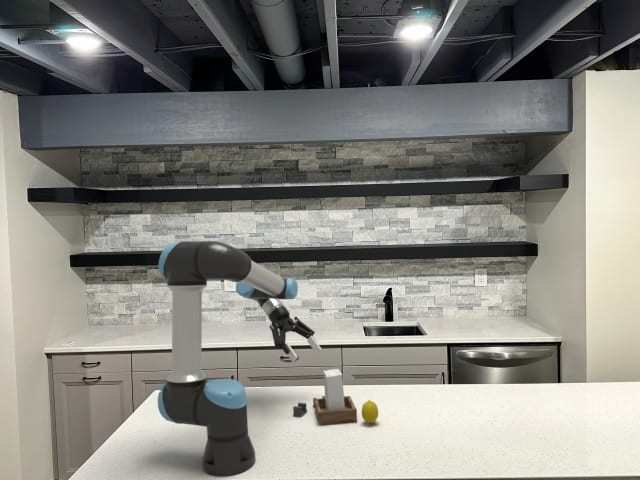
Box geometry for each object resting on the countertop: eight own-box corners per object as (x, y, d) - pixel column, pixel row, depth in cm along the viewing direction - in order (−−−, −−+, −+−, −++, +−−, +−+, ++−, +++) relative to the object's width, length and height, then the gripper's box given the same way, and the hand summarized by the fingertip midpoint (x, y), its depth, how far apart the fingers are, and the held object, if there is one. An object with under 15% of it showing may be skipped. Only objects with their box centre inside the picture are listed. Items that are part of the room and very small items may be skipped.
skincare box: (345, 417, 170) (343, 374, 169) (328, 419, 169) (326, 376, 168) (341, 408, 178) (339, 367, 177) (324, 410, 177) (322, 369, 177)
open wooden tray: (357, 422, 168) (356, 409, 168) (319, 426, 166) (318, 412, 166) (350, 408, 181) (349, 395, 181) (315, 411, 179) (314, 399, 179)
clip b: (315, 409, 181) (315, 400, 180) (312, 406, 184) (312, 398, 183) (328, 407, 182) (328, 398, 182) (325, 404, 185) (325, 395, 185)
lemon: (382, 423, 166) (381, 399, 166) (372, 428, 162) (370, 404, 162) (368, 419, 170) (367, 396, 170) (358, 424, 166) (357, 401, 166)
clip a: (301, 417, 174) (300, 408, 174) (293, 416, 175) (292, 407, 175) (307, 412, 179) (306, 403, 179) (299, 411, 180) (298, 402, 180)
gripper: (292, 313, 201) (323, 354, 192) (247, 323, 182) (278, 369, 172) (302, 300, 198) (333, 342, 189) (257, 309, 178) (289, 356, 169)
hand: (307, 355), depth 180 cm, fingers open, 13 cm apart
